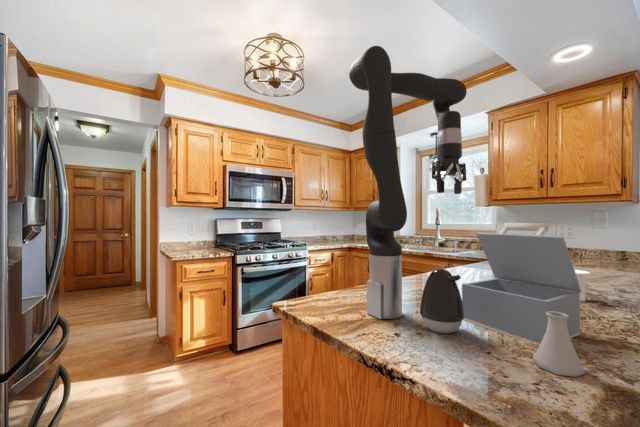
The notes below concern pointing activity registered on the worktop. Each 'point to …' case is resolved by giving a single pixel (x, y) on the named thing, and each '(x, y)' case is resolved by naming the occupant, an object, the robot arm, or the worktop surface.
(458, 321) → the pump dispenser
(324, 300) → the worktop surface
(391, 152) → the robot arm
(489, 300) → the carton
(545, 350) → the flask
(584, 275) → the cup
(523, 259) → the lid flap
